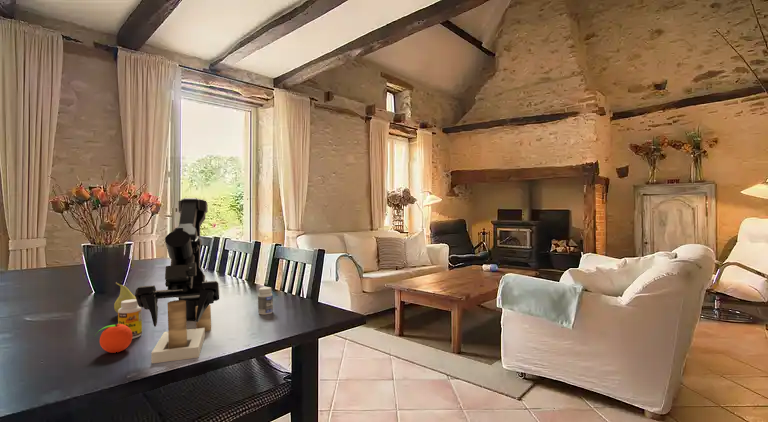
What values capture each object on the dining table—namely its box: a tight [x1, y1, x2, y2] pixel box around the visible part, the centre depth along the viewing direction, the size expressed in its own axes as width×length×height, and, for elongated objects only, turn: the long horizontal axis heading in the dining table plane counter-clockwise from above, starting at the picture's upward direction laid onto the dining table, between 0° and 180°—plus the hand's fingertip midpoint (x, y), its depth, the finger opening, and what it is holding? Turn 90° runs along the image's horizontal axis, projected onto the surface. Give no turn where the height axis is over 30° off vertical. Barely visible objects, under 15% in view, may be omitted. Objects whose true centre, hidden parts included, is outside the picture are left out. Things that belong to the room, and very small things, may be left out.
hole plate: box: [150, 327, 206, 364], centre depth 102 cm, size 16×10×2 cm, turn 19°
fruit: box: [113, 281, 136, 314], centre depth 134 cm, size 7×8×12 cm
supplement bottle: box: [117, 299, 143, 340], centre depth 112 cm, size 6×6×10 cm
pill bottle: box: [257, 286, 274, 315], centre depth 134 cm, size 5×5×8 cm
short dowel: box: [195, 304, 212, 333], centre depth 117 cm, size 4×4×7 cm
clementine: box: [94, 323, 133, 354], centre depth 100 cm, size 8×7×7 cm
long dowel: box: [167, 299, 188, 349], centre depth 98 cm, size 4×4×13 cm
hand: (176, 323), depth 97 cm, fingers open, 9 cm apart
